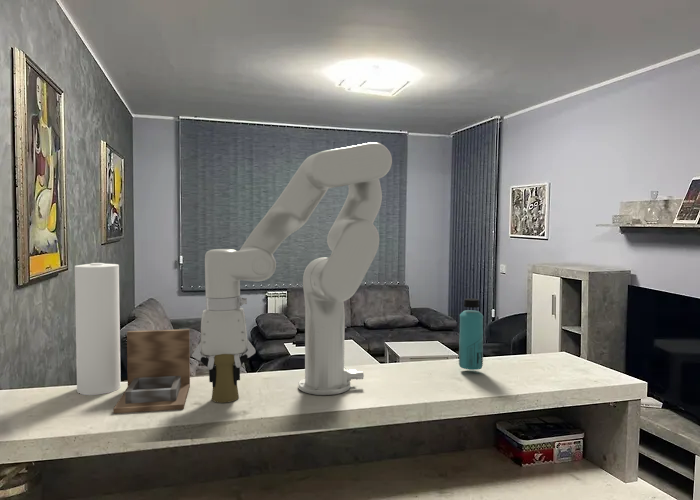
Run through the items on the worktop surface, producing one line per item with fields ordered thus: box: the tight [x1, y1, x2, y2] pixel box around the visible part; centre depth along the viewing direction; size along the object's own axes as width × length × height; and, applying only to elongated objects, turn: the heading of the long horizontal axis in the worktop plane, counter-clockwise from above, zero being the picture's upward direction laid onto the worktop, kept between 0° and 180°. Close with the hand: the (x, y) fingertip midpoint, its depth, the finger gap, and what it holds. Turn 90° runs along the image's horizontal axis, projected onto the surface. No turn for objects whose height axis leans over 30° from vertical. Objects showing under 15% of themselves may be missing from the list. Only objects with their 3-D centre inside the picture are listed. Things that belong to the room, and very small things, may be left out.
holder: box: [112, 328, 191, 414], centre depth 119 cm, size 14×16×14 cm
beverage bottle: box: [458, 298, 484, 371], centre depth 142 cm, size 6×7×20 cm
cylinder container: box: [74, 262, 122, 396], centre depth 125 cm, size 9×9×30 cm
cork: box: [211, 354, 240, 404], centre depth 119 cm, size 6×6×11 cm
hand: (224, 383), depth 120 cm, fingers closed on cork, 4 cm apart
